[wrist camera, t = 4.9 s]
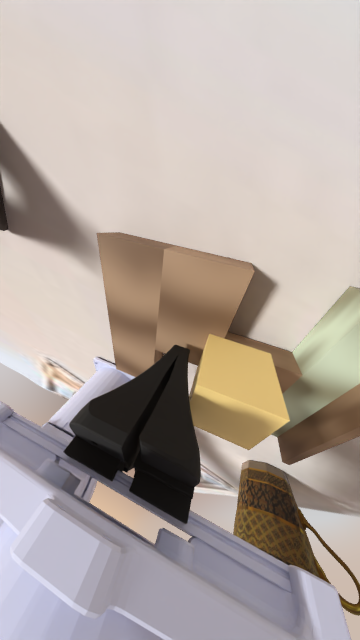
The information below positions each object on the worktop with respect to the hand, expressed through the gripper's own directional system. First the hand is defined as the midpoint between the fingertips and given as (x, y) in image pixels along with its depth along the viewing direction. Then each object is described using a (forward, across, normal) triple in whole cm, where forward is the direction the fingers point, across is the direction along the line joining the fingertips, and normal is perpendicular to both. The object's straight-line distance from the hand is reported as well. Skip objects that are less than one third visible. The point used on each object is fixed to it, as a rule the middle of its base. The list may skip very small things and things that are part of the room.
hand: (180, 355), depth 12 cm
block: (+1, -4, 0) cm, 4 cm away
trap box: (+3, -2, 0) cm, 4 cm away
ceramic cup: (+3, -19, +23) cm, 30 cm away
